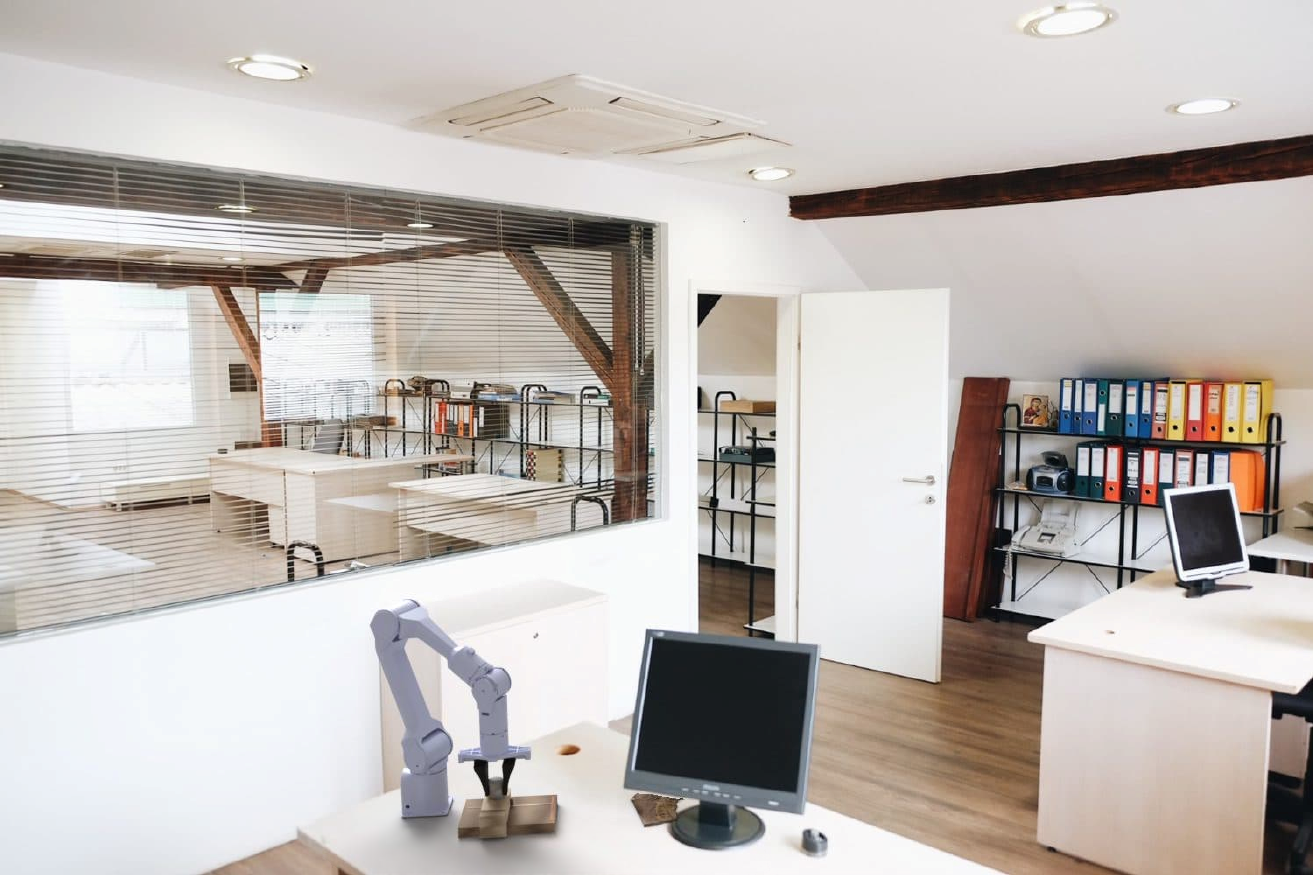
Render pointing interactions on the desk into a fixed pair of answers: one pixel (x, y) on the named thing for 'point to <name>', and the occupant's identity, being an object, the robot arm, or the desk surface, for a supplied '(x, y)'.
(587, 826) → the desk surface
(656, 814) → the wooden fragment
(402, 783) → the robot arm
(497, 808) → the beige block with knob
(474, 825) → the board
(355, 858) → the desk surface
